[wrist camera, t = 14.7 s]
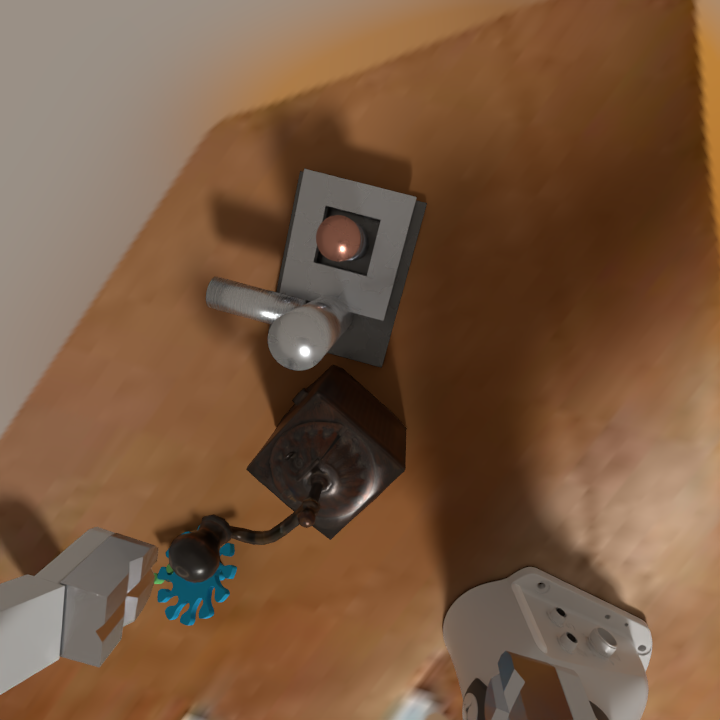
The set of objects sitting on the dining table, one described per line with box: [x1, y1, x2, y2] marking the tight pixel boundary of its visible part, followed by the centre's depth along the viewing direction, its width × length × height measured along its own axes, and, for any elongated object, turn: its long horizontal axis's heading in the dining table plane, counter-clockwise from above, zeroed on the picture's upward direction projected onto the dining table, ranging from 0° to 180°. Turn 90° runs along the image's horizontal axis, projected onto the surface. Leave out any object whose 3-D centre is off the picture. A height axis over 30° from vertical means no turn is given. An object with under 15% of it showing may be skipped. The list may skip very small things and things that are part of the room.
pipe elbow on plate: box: [206, 169, 427, 371], centre depth 35 cm, size 16×16×15 cm
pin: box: [316, 215, 370, 262], centre depth 36 cm, size 3×3×8 cm
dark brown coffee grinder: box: [169, 365, 407, 583], centre depth 38 cm, size 16×11×18 cm
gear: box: [154, 525, 237, 625], centre depth 49 cm, size 11×6×10 cm
